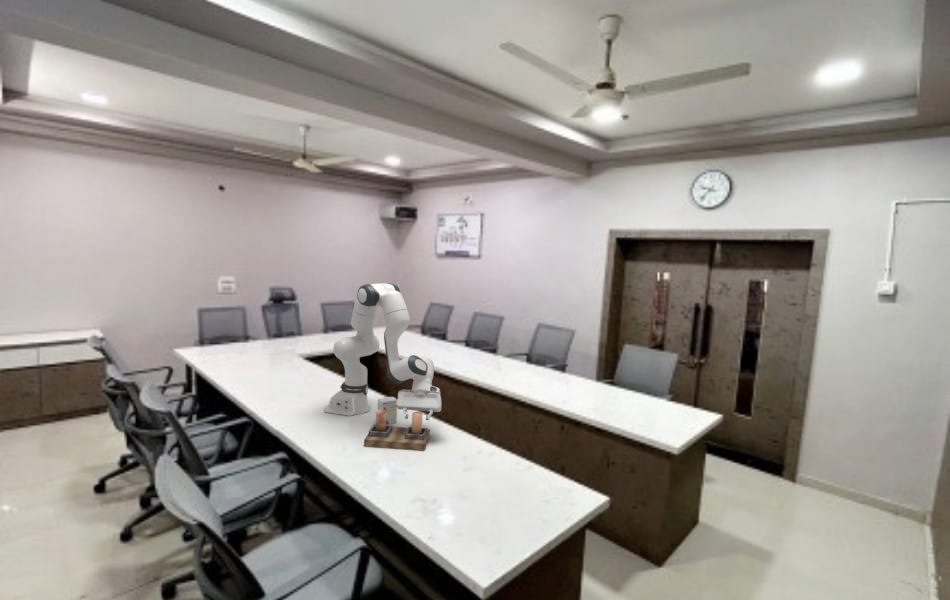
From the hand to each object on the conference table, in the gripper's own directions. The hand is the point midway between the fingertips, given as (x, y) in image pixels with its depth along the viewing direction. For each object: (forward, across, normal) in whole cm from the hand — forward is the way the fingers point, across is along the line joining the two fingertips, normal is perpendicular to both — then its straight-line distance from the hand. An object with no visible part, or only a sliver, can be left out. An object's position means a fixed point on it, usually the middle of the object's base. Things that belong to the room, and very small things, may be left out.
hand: (416, 418), depth 199 cm
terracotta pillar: (+5, 0, +6) cm, 8 cm away
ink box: (-7, -18, +22) cm, 30 cm away
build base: (+7, -8, +8) cm, 14 cm away
